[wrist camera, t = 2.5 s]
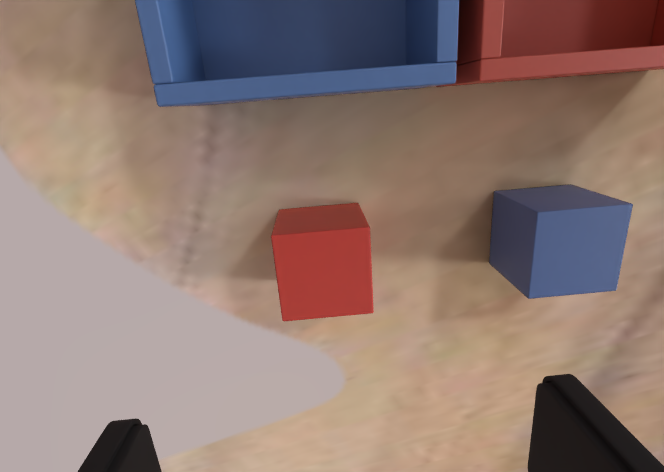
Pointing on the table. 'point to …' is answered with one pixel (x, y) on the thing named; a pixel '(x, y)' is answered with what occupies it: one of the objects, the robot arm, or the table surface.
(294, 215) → the red block
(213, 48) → the blue bin
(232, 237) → the table surface
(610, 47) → the red bin
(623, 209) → the blue block
